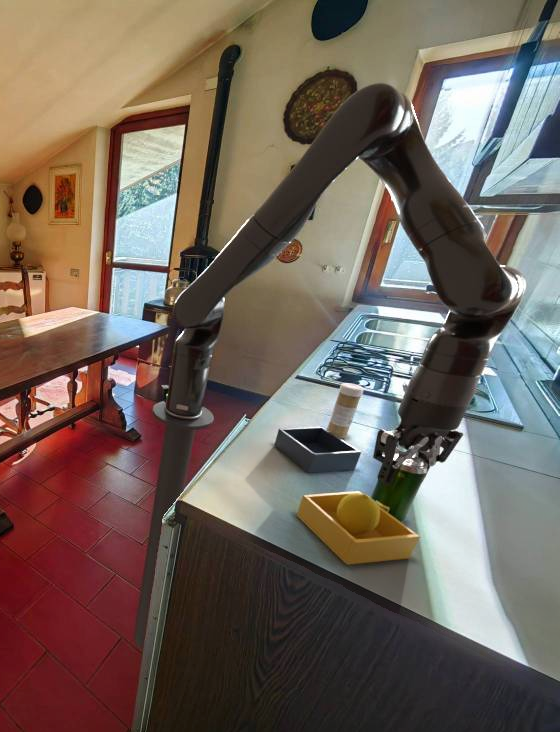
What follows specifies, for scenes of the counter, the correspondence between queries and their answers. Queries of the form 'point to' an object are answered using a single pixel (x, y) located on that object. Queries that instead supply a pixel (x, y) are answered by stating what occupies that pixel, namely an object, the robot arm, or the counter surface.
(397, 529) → the yellow bin
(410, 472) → the beer can
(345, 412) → the sprinkles bottle
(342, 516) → the lemon
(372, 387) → the counter surface
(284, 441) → the slate bin
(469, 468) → the counter surface
